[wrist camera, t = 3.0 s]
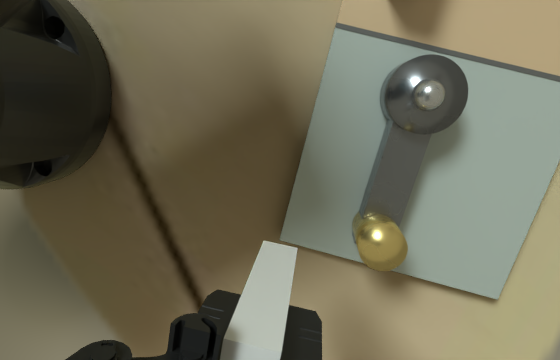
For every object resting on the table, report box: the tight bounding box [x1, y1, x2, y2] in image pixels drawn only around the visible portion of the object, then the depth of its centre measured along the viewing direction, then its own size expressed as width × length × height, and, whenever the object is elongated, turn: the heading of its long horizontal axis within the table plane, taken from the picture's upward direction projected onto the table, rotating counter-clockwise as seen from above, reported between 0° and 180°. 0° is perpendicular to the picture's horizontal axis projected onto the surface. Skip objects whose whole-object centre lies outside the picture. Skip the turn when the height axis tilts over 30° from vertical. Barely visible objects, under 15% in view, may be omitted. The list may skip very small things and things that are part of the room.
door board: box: [280, 0, 560, 300], centre depth 23 cm, size 16×24×1 cm, turn 166°
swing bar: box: [352, 54, 468, 271], centre depth 22 cm, size 13×4×4 cm, turn 166°
